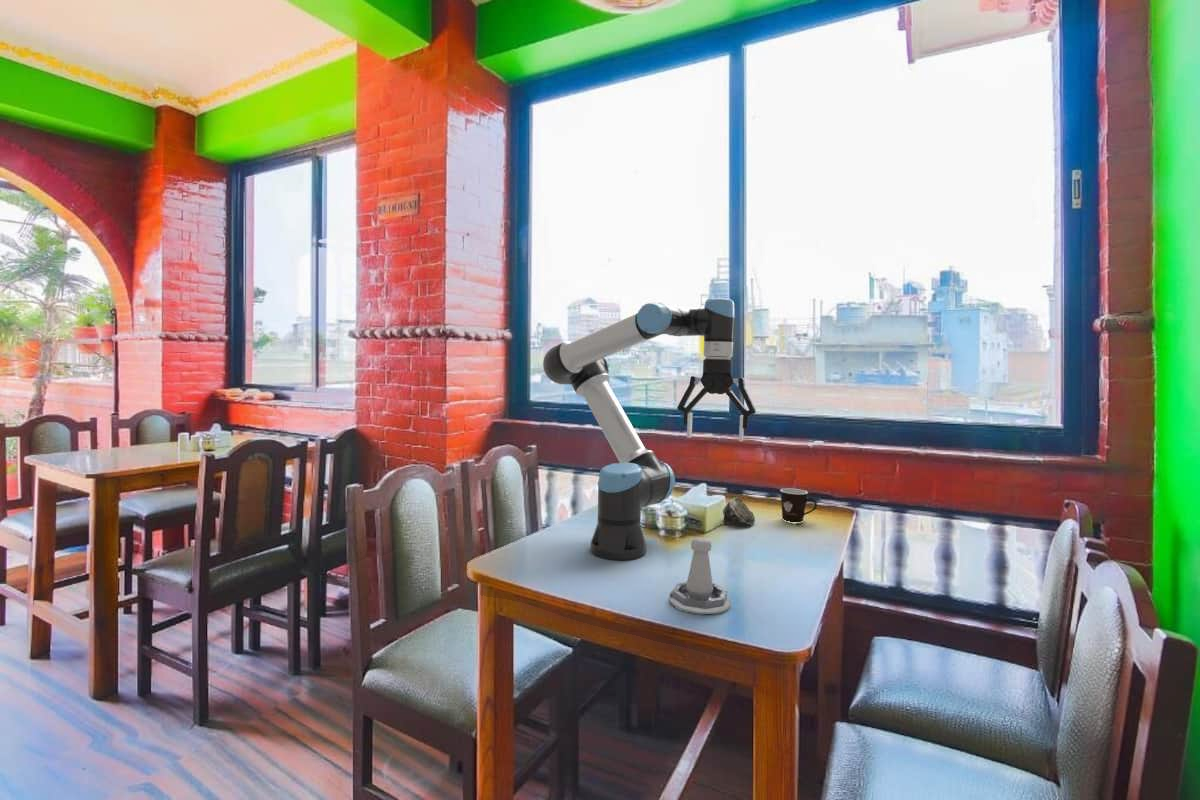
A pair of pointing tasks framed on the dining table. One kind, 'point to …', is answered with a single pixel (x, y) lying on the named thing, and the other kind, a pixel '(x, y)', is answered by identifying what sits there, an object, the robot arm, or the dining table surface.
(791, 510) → the coffee mug
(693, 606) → the steel collar
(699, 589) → the salt shaker
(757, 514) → the dining table surface
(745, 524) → the fossil
